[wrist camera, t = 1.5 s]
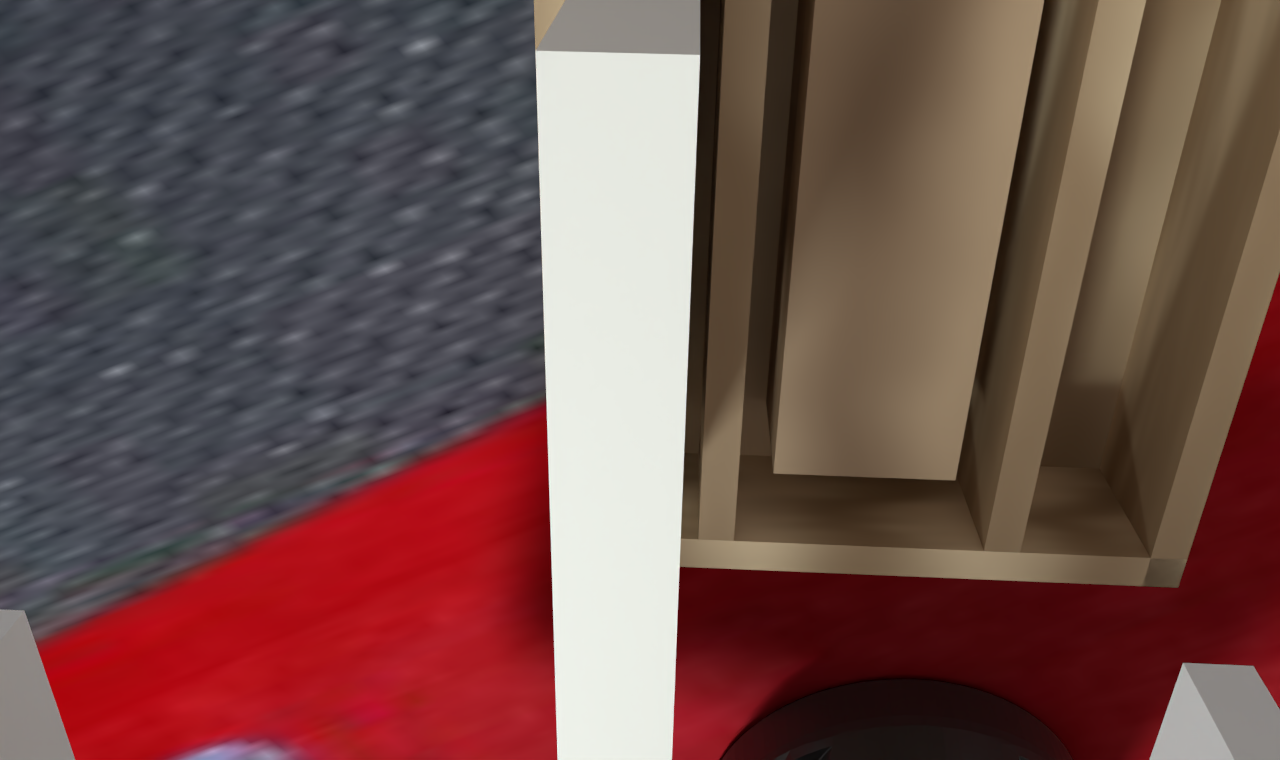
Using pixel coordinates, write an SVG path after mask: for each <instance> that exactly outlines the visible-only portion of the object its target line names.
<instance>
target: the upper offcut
mask: <svg viewBox="0 0 1280 760" xmlns="http://www.w3.org/2000/svg"><path fill="white" fill-rule="evenodd" d="M1043 4H1044V0H806V9H805V21H804V33H803V44H802V56H801V68H800V80H799V92H798V104H797V116H796V128H795V139H794V151H793V163H792V175H791V187H790V199H789V211H788V223H787V234H786V246H785V258H784V270H783V282H782V294H781V306H780V318H779V329H778V341H777V353H776V365H775V377H774V389H773V401H772V413H771V424H770V444H771V454H772V464H773V473H774V474H800V475H826V476H851V477H877V478H903V479H928V480H954V481H955V480H956V475H957V469H958V464H959V458H960V453H961V448H962V442H963V437H964V431H965V426H966V421H967V415H968V410H969V404H970V399H971V394H972V388H973V383H974V377H975V372H976V367H977V361H978V356H979V350H980V345H981V340H982V334H983V329H984V323H985V318H986V313H987V307H988V302H989V296H990V291H991V286H992V280H993V275H994V269H995V264H996V258H997V253H998V248H999V242H1000V237H1001V231H1002V226H1003V221H1004V215H1005V210H1006V204H1007V199H1008V194H1009V188H1010V183H1011V177H1012V172H1013V167H1014V161H1015V156H1016V150H1017V145H1018V140H1019V134H1020V129H1021V123H1022V118H1023V113H1024V107H1025V102H1026V96H1027V91H1028V86H1029V80H1030V75H1031V69H1032V64H1033V59H1034V53H1035V48H1036V42H1037V37H1038V31H1039V26H1040V21H1041V15H1042V10H1043Z"/></svg>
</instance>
